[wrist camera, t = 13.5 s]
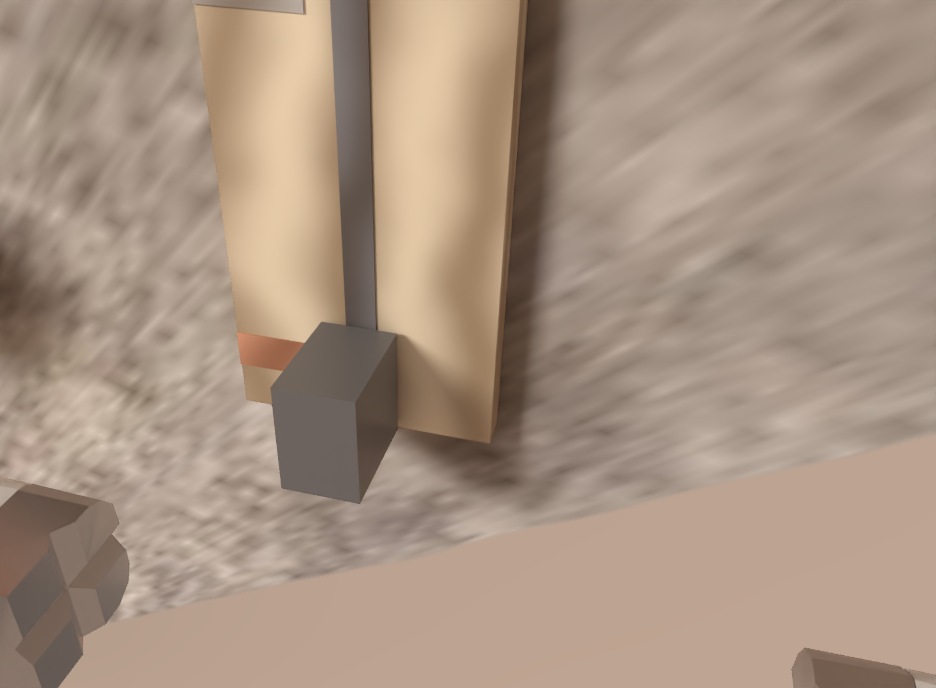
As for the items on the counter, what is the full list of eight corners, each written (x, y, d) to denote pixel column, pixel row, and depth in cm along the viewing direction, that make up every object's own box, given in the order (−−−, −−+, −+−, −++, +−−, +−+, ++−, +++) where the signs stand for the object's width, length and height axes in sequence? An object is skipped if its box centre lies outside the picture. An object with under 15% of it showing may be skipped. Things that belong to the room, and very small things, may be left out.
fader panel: (534, -89, 32) (525, -85, 30) (497, 421, 45) (489, 445, 43) (204, -110, 34) (178, -107, 32) (262, 380, 47) (245, 400, 46)
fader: (396, 333, 40) (355, 402, 36) (397, 428, 44) (359, 503, 39) (321, 321, 41) (270, 387, 36) (327, 415, 44) (281, 488, 39)
